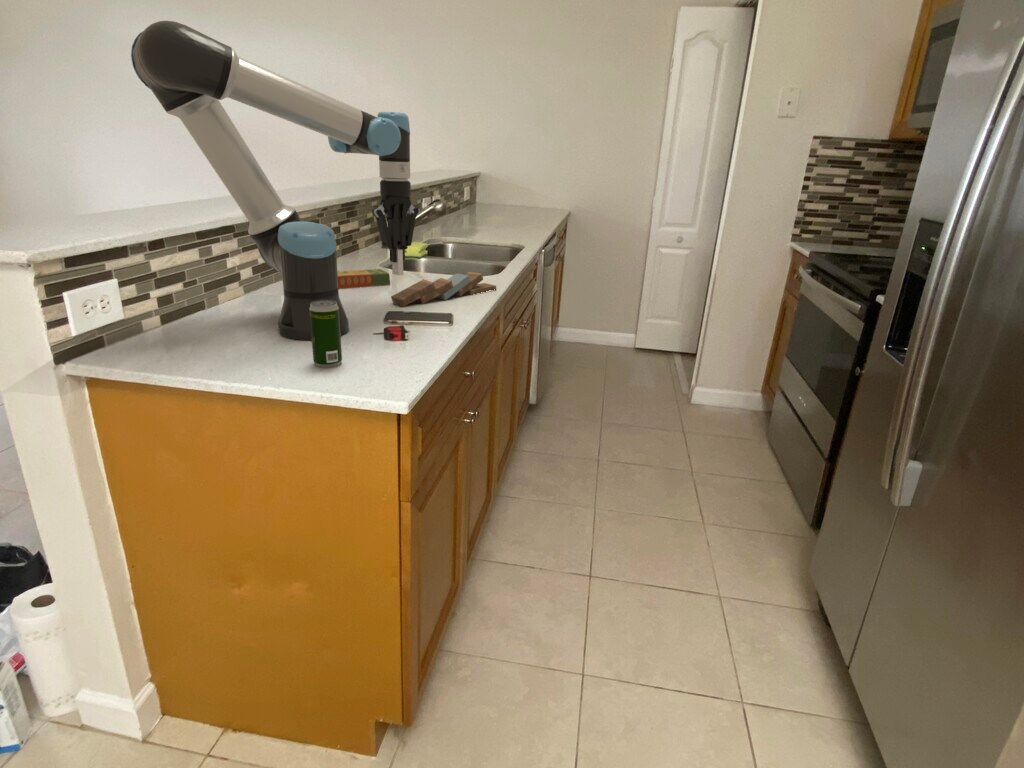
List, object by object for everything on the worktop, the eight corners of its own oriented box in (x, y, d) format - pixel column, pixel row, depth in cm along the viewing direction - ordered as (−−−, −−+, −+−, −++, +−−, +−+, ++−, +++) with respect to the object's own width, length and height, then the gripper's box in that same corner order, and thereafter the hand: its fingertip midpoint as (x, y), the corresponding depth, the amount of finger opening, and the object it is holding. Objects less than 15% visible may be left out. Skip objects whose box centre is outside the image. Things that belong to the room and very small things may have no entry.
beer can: (347, 364, 121) (344, 303, 117) (323, 370, 118) (318, 308, 113) (332, 357, 125) (328, 298, 120) (308, 363, 121) (303, 302, 117)
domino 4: (458, 290, 177) (481, 273, 184) (445, 288, 180) (469, 271, 186) (460, 296, 178) (483, 279, 185) (447, 294, 181) (470, 277, 188)
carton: (330, 284, 188) (329, 270, 187) (381, 281, 196) (380, 267, 195) (338, 290, 182) (337, 275, 180) (390, 286, 190) (390, 272, 188)
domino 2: (420, 297, 168) (451, 280, 173) (410, 294, 171) (441, 277, 176) (422, 304, 169) (453, 287, 174) (412, 300, 172) (442, 284, 177)
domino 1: (401, 300, 164) (433, 282, 169) (390, 296, 167) (423, 279, 172) (403, 307, 165) (435, 289, 170) (393, 303, 168) (425, 285, 174)
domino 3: (443, 293, 172) (468, 275, 179) (431, 291, 175) (456, 273, 182) (445, 300, 174) (470, 281, 180) (432, 297, 176) (457, 279, 183)
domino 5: (470, 290, 180) (496, 285, 188) (458, 287, 183) (484, 282, 191) (470, 297, 181) (496, 292, 189) (458, 294, 184) (484, 289, 192)
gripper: (381, 180, 148) (385, 279, 156) (425, 180, 157) (426, 273, 165) (364, 178, 153) (368, 274, 161) (407, 178, 162) (409, 269, 170)
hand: (397, 274), depth 163 cm, fingers closed
